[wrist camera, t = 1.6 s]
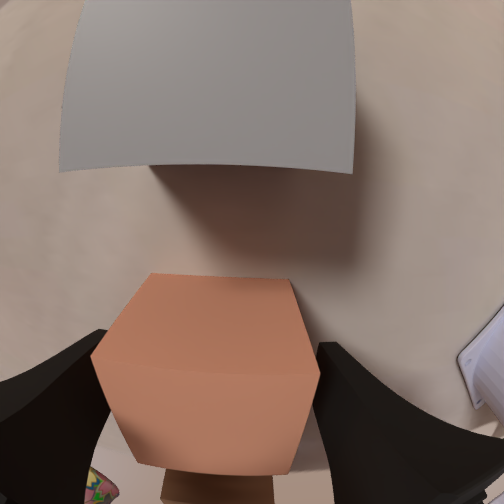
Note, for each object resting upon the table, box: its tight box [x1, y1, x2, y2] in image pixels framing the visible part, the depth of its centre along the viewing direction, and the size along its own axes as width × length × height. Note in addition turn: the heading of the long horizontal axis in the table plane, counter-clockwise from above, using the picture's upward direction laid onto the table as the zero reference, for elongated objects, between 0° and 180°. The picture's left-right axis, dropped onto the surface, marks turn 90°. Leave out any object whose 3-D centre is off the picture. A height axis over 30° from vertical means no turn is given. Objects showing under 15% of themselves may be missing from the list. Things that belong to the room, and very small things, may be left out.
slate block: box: [59, 0, 356, 174], centre depth 6 cm, size 5×5×5 cm
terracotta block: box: [91, 273, 320, 476], centre depth 8 cm, size 5×5×5 cm
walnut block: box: [160, 468, 275, 504], centre depth 11 cm, size 5×5×5 cm
